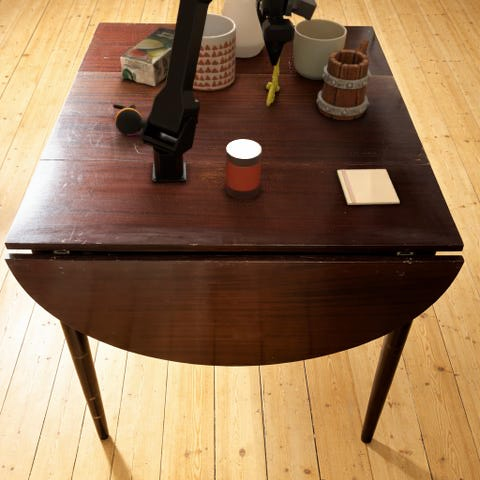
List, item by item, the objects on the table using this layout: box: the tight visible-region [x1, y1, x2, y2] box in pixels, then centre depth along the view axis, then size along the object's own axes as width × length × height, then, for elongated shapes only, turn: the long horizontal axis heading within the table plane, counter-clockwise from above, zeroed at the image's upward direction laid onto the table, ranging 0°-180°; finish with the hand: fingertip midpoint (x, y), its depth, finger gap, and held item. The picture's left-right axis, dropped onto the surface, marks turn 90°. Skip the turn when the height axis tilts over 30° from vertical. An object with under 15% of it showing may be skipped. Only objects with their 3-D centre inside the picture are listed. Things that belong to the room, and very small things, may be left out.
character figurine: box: [112, 103, 147, 137], centre depth 132 cm, size 10×6×12 cm
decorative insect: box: [265, 56, 281, 107], centre depth 141 cm, size 13×3×10 cm
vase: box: [193, 12, 236, 92], centre depth 144 cm, size 14×14×13 cm
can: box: [225, 139, 262, 201], centre depth 114 cm, size 6×6×9 cm
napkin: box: [336, 168, 400, 206], centre depth 119 cm, size 11×10×1 cm
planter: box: [292, 18, 348, 81], centre depth 148 cm, size 12×12×11 cm
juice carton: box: [119, 26, 175, 87], centre depth 149 cm, size 20×10×6 cm, turn 156°
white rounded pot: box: [220, 0, 265, 59], centre depth 155 cm, size 13×13×14 cm
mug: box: [316, 38, 372, 121], centre depth 136 cm, size 12×14×15 cm
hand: (271, 56), depth 134 cm, fingers open, 9 cm apart
